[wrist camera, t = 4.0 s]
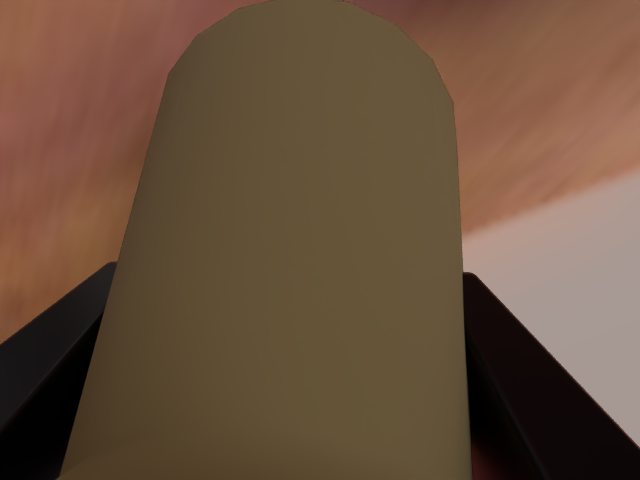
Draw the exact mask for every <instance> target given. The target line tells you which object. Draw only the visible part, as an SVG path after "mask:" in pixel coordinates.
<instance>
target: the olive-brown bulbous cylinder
mask: <svg viewBox="0 0 640 480" xmlns="http://www.w3.org/2000/svg"><path fill="white" fill-rule="evenodd" d="M462 272H463V258H462V238H461V217H460V197H459V176H458V156H457V140H456V129H455V117H454V106H453V101H452V99H451V97H450V95H449V93H448V91H447V89H446V86H445V84H444V82H443V80H442V78H441V76H440V74H439V72H438V70H437V68H436V66H435V64H434V62H433V60H432V59H431V58H430V57H429V56H428V55H427V54H426V53H425V52H424V51H423V50H422V49H421V48H420V47H419V46H418V45H417V44H416V43H415V42H414V41H413V40H412V39H411V38H410V37H409V36H407V35H406V34H405V33H404V32H403V31H402V30H401V29H400V28H399V27H398V26H397V25H396V24H394V23H392V22H390V21H387V20H385V19H383V18H381V17H379V16H377V15H374V14H372V13H370V12H368V11H366V10H364V9H362V8H359V7H357V6H355V5H353V4H351V3H349V2H344V1H335V0H273V1H268V2H264V3H260V4H255V5H251V6H247V7H242V8H239V9H237V10H236V11H234V12H233V13H231V14H229V15H228V16H226V17H225V18H223V19H222V20H220V21H219V22H217V23H216V24H214V25H212V26H211V27H209V28H208V29H206V30H205V31H203V32H202V33H200V34H198V35H197V36H196V37H195V38H194V40H193V41H192V42H191V44H190V45H189V47H188V48H187V49H186V51H185V52H184V53H183V55H182V56H181V57H180V59H179V60H178V61H177V63H176V64H175V66H174V67H173V68H172V70H171V71H170V72H169V74H168V77H167V81H166V85H165V88H164V92H163V96H162V99H161V103H160V107H159V111H158V114H157V118H156V122H155V125H154V129H153V133H152V136H151V140H150V144H149V148H148V151H147V155H146V159H145V162H144V166H143V170H142V173H141V177H140V181H139V184H138V188H137V192H136V196H135V199H134V203H133V207H132V210H131V214H130V218H129V221H128V225H127V229H126V233H125V236H124V240H123V244H122V247H121V251H120V255H119V258H118V262H117V266H116V269H115V273H114V277H113V281H112V284H111V288H110V292H109V295H108V299H107V303H106V306H105V310H104V314H103V318H102V321H101V325H100V329H99V332H98V336H97V340H96V343H95V347H94V351H93V355H92V358H91V362H90V366H89V369H88V373H87V377H86V380H85V384H84V388H83V391H82V395H81V399H80V403H79V406H78V410H77V414H76V417H75V421H74V425H73V428H72V432H71V436H70V440H69V443H68V447H67V451H66V454H65V458H64V462H63V465H62V469H61V473H60V477H59V478H57V479H56V480H473V462H472V442H471V421H470V403H469V389H468V376H467V363H466V349H465V335H464V311H463V281H462Z"/></svg>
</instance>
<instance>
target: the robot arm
mask: <svg viewBox="0 0 640 480" xmlns="http://www.w3.org/2000/svg"><path fill="white" fill-rule="evenodd" d="M116 266H117V262H110V263H108V264H106V265H105V266H103V267H102V268H101V269H99V270H98V271H97V272H95V273H94V274H93V275H91V276H90V277H89V278H87V279H86V280H85V281H83V282H82V283H81V284H79V285H78V286H77V287H76V288H74V289H73V290H72V291H70V292H69V293H68V294H66V295H65V296H64V297H62V298H61V299H60V300H58V301H57V302H56V303H54V304H53V305H52V306H50V307H49V308H48V309H47V310H45V311H44V312H43V313H41V314H40V315H39V316H37V317H36V318H35V319H33V320H32V321H31V322H29V323H28V324H27V325H25V326H24V327H23V328H21V329H20V330H19V331H17V332H16V333H15V334H14V335H12V336H11V337H10V338H8V339H7V340H6V341H4V342H3V343H2V344H0V480H56V479H57V478H59V477H60V473H61V469H62V465H63V462H64V458H65V454H66V451H67V447H68V443H69V440H70V436H71V432H72V428H73V425H74V421H75V417H76V414H77V410H78V406H79V403H80V399H81V395H82V391H83V388H84V384H85V380H86V377H87V373H88V369H89V366H90V362H91V358H92V355H93V351H94V347H95V343H96V340H97V336H98V332H99V329H100V325H101V321H102V318H103V314H104V310H105V306H106V303H107V299H108V295H109V292H110V288H111V284H112V281H113V277H114V273H115V269H116ZM462 281H463V311H464V335H465V349H466V363H467V376H468V389H469V403H470V421H471V442H472V462H473V480H640V447H639V446H638V445H637V444H636V443H635V442H634V441H633V440H632V439H631V438H630V437H629V436H628V435H627V434H626V433H625V432H624V431H623V429H621V427H620V426H619V425H618V424H617V423H616V422H615V421H614V420H613V419H612V418H611V417H610V416H609V415H608V414H607V413H606V412H605V411H604V410H603V408H602V407H601V406H600V405H599V404H598V403H597V402H596V401H595V400H594V399H593V398H592V397H591V396H590V395H589V394H588V393H587V392H586V391H585V389H584V388H583V387H582V386H581V385H580V384H579V383H578V382H577V381H576V380H575V379H574V378H573V377H572V376H571V375H570V374H569V373H568V372H567V371H566V369H565V368H564V367H563V366H562V365H561V364H560V363H559V362H558V361H557V360H556V359H555V358H554V357H553V356H552V355H551V354H550V353H549V352H548V351H547V349H546V348H545V347H544V346H543V345H542V344H541V343H540V342H539V341H538V340H537V339H536V338H535V337H534V336H533V335H532V334H531V333H530V332H529V331H528V330H527V328H526V327H525V326H524V325H523V324H522V323H521V322H520V321H519V320H518V319H517V318H516V317H515V316H514V315H513V314H512V313H511V312H510V311H509V309H508V308H506V306H505V305H504V304H503V303H502V302H501V301H500V300H499V299H498V298H497V297H496V296H495V295H494V294H493V293H492V292H491V291H490V289H488V287H487V286H486V285H485V284H484V283H483V282H482V281H481V280H480V279H479V278H478V277H477V276H476V275H475V274H473V273H470V272H462Z"/></svg>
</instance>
